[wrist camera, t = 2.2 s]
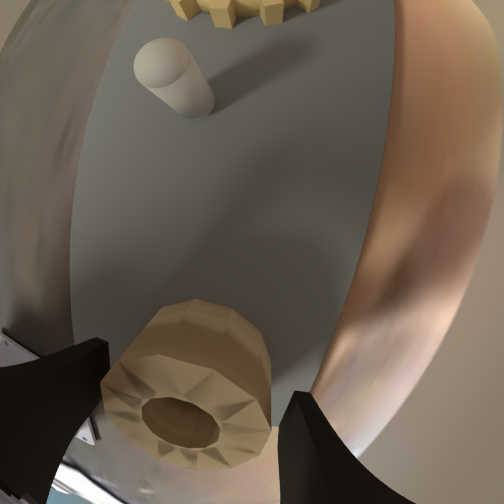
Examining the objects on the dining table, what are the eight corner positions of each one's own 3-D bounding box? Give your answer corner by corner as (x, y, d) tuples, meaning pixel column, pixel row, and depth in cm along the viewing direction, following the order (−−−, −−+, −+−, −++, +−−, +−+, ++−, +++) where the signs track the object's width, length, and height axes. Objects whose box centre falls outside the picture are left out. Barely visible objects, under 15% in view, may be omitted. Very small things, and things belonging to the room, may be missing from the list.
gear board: (90, 354, 13) (33, 416, 7) (185, -53, 8) (160, -111, 2) (290, 409, 13) (296, 500, 7) (384, -25, 8) (418, -82, 2)
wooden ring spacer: (143, 386, 12) (111, 440, 8) (146, 286, 10) (94, 331, 7) (253, 414, 12) (247, 478, 8) (283, 318, 10) (290, 384, 7)
